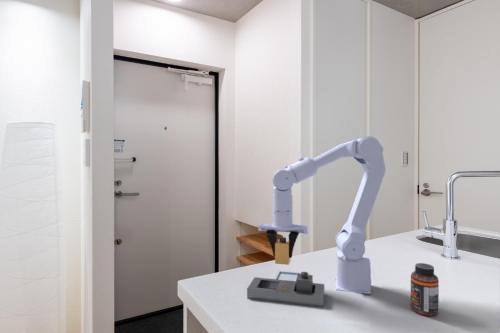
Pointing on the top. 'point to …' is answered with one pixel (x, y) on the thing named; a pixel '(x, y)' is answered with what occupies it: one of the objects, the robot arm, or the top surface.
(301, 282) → the grey block with knob
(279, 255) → the plug
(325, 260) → the top surface
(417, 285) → the supplement bottle
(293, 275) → the tray
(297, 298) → the strip
